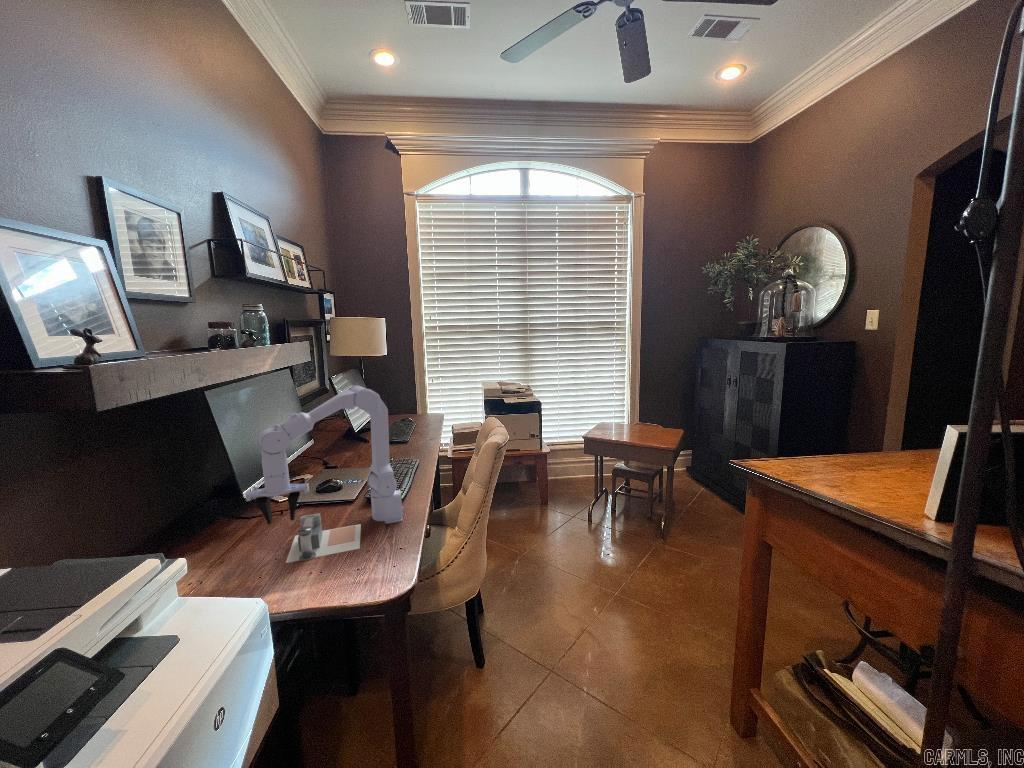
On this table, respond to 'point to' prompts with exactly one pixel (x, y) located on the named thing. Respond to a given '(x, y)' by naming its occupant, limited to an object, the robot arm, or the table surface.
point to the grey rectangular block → (314, 537)
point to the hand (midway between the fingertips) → (281, 520)
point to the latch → (307, 532)
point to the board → (330, 543)
